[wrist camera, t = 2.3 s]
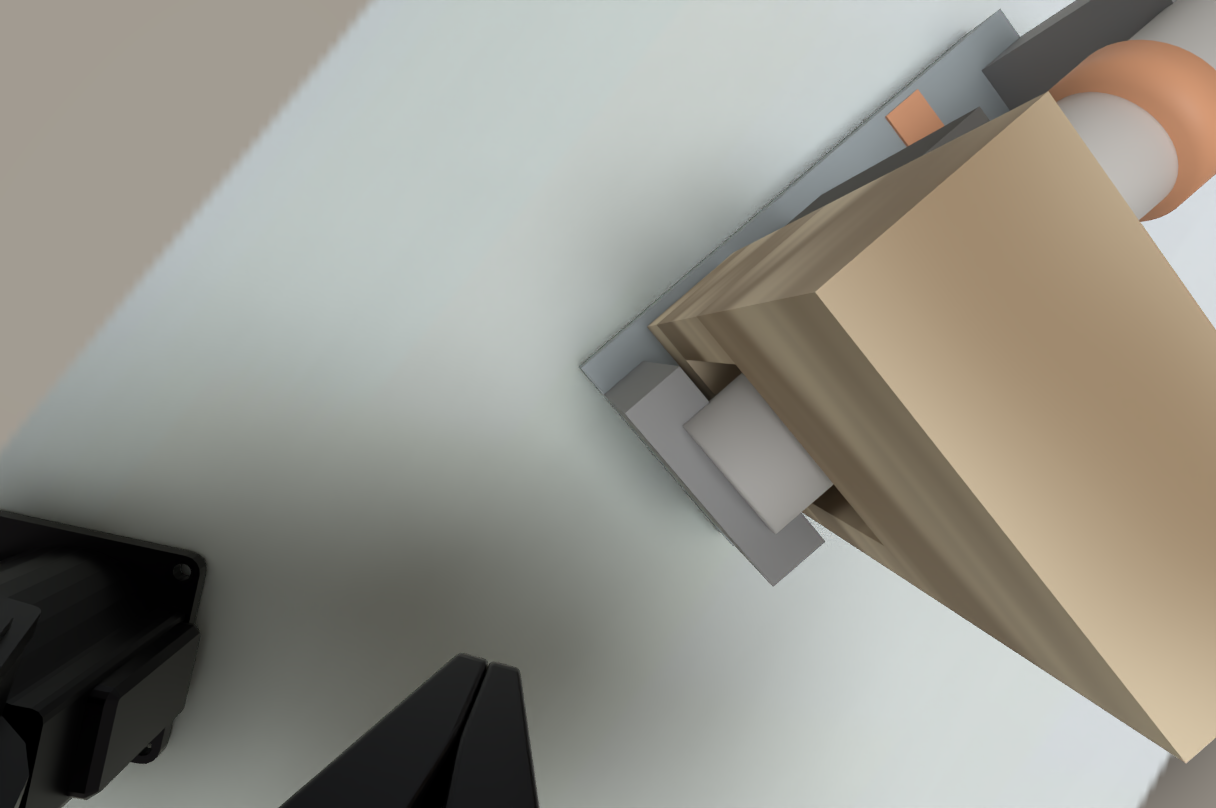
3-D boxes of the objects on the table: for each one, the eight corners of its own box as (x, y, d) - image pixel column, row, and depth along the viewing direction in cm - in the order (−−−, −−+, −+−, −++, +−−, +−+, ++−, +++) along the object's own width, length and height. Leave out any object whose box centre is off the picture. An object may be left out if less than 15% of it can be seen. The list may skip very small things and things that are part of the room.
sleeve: (800, 511, 19) (1186, 764, 7) (647, 326, 18) (815, 292, 7) (883, 440, 19) (1392, 582, 7) (733, 252, 18) (1048, 90, 7)
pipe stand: (720, 532, 22) (836, 657, 13) (578, 367, 21) (600, 381, 12) (1094, 209, 22) (1456, 118, 13) (968, 32, 21) (1266, -190, 12)
